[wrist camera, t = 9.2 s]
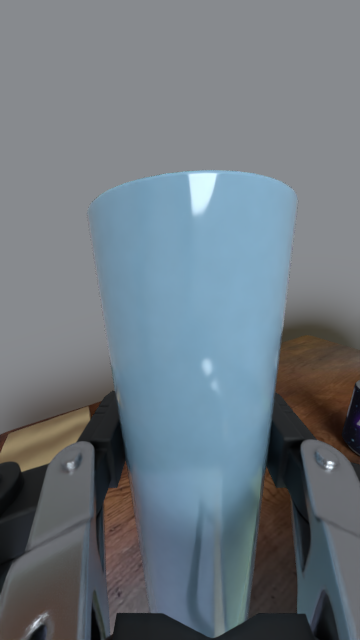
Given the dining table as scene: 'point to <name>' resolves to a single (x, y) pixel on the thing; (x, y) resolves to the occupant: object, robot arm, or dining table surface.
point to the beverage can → (353, 421)
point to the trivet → (44, 439)
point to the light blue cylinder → (195, 372)
